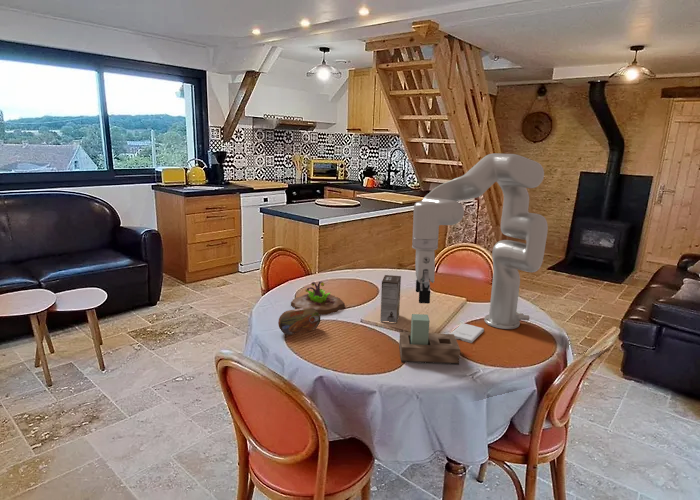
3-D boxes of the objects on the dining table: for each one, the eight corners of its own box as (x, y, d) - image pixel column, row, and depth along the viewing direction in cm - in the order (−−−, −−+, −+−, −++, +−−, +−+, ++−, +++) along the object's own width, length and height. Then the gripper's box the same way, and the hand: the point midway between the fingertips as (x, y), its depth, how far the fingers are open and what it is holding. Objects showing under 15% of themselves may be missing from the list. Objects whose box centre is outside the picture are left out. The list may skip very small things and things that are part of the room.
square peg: (425, 349, 142) (427, 314, 140) (427, 356, 138) (429, 320, 135) (409, 348, 143) (411, 313, 140) (411, 356, 138) (413, 320, 135)
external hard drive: (483, 332, 159) (471, 344, 149) (461, 326, 164) (448, 338, 154) (484, 328, 159) (471, 340, 149) (462, 322, 163) (448, 333, 153)
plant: (312, 319, 167) (312, 291, 164) (284, 305, 181) (283, 279, 179) (352, 308, 180) (352, 281, 177) (322, 295, 194) (323, 270, 191)
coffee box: (383, 313, 174) (384, 274, 170) (399, 315, 172) (401, 275, 169) (379, 322, 165) (381, 281, 161) (397, 324, 164) (399, 282, 160)
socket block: (452, 348, 145) (453, 334, 144) (459, 364, 134) (460, 349, 133) (399, 346, 146) (399, 332, 145) (401, 362, 135) (401, 347, 134)
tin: (280, 337, 151) (280, 314, 149) (277, 333, 154) (277, 310, 152) (320, 329, 158) (320, 307, 156) (317, 326, 160) (317, 304, 158)
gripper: (442, 250, 123) (438, 308, 127) (433, 237, 140) (431, 288, 144) (414, 250, 123) (412, 307, 128) (410, 236, 140) (408, 287, 144)
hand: (422, 297), depth 136 cm, fingers open, 9 cm apart
